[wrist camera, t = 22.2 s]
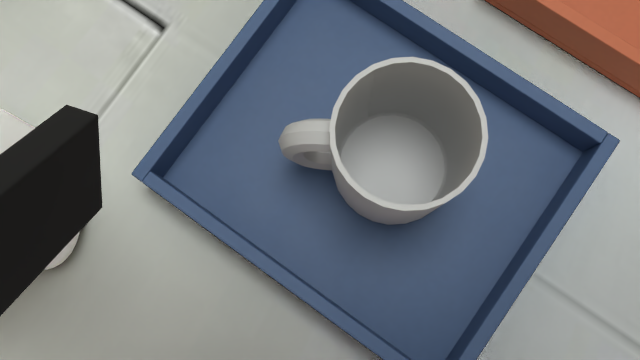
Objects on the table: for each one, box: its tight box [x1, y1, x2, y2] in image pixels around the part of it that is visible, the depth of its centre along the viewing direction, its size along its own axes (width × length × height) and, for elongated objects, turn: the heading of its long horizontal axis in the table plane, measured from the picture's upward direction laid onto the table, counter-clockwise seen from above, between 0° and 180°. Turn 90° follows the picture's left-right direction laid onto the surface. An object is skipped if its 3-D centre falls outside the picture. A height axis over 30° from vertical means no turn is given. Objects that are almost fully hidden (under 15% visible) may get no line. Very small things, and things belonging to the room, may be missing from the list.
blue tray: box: [132, 0, 620, 360], centre depth 34 cm, size 22×18×3 cm
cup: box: [278, 57, 488, 225], centre depth 31 cm, size 7×10×9 cm
